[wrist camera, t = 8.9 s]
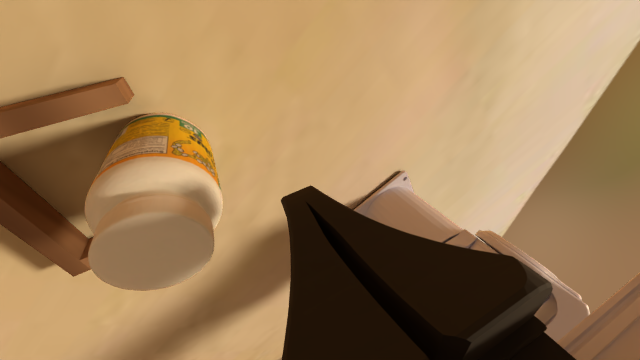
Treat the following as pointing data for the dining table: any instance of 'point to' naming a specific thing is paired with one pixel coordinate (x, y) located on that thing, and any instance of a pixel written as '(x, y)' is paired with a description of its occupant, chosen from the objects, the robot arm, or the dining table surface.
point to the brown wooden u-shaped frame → (25, 204)
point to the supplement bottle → (154, 205)
